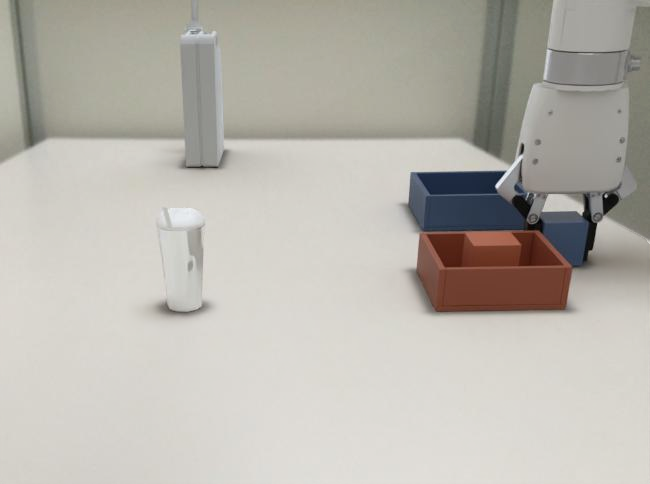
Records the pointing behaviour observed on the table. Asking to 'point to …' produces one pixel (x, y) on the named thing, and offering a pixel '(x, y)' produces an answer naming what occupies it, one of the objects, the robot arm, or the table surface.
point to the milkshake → (182, 256)
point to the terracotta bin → (493, 275)
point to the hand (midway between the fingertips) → (555, 256)
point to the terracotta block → (490, 249)
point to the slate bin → (462, 201)
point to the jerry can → (201, 94)
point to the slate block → (566, 234)
